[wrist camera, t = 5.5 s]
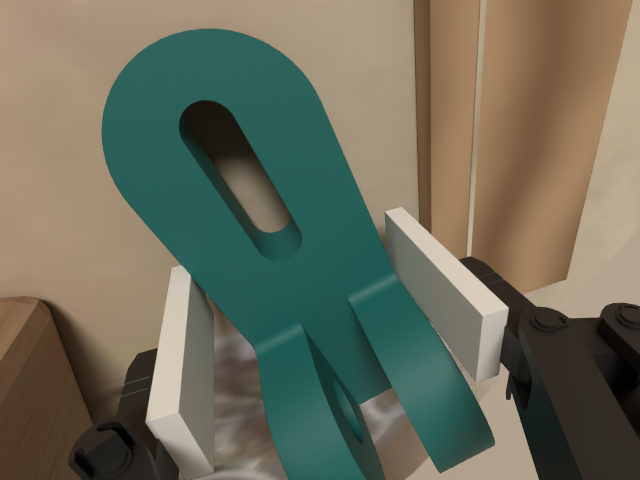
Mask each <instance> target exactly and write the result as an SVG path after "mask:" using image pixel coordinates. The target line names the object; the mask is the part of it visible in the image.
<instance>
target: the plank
mask: <svg viewBox="0 0 640 480" xmlns="http://www.w3.org/2000/svg"><path fill="white" fill-rule="evenodd" d="M632 1H633V0H414V22H415V61H416V100H417V139H418V178H419V217H420V225H421V226H422V227H423V228H425V229H426V230H427V231H428V232H429V233H430V234H431V235H432V236H433V237H434V238H435V239H436V240H437V241H438V242H439V243H440V244H442V245H443V246H444V247H445V248H446V249H447V250H448V251H449V252H450V253H451V254H452V255H453V256H454V257H455V258H456V259H457V260H459V259H462V258H466V257H469V256H471V257H474V258H476V259H478V260H480V261H483V262H485V263H486V264H487V265H488V266H489V267H491V268H492V269H493V270H494V271H495V273H498V274H499V275H500V276H501V277H502V278H503V280H506V281H507V282H508V283H509V284H510V285H512V286H513V287H514V288H515V289H516V290H517V291H519V292H520V293H521V294H522V293H525V292H528V291H531V290H534V289H538V288H541V287H544V286H547V285H550V284H553V283H556V282H560V281H563V280H566V278H567V274H568V270H569V266H570V262H571V257H572V253H573V249H574V245H575V241H576V236H577V232H578V228H579V224H580V220H581V215H582V211H583V207H584V203H585V199H586V194H587V190H588V186H589V182H590V178H591V173H592V169H593V165H594V161H595V157H596V152H597V148H598V144H599V140H600V136H601V131H602V127H603V123H604V119H605V115H606V110H607V106H608V102H609V98H610V94H611V89H612V85H613V81H614V77H615V73H616V68H617V64H618V60H619V56H620V52H621V47H622V43H623V39H624V35H625V31H626V26H627V22H628V18H629V14H630V10H631V5H632Z"/></svg>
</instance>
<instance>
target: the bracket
mask: <svg viewBox="0 0 640 480" xmlns="http://www.w3.org/2000/svg"><path fill="white" fill-rule="evenodd" d="M201 100H210V101H215V102H218V103H220V104H222V105H223V106H225V107H226V108H227V109H228V110H229V111H230V112H231V113H232V114H233V116H234V118H235V119H236V121H237V123H238V125H239V126H240V128H241V130H242V131H243V133H244V135H245V137H246V138H247V140H248V142H249V143H250V145H251V147H252V149H253V150H254V152H255V154H256V155H257V157H258V159H259V161H260V162H261V164H262V166H263V168H264V169H265V171H266V173H267V174H268V176H269V178H270V180H271V181H272V183H273V185H274V186H275V188H276V190H277V192H278V193H279V195H280V197H281V198H282V200H283V202H284V204H285V205H286V207H287V209H288V211H289V212H290V214H291V219H290V222H289V223H288V225H287V226H286V227H285V228H284V229H282V230H280V231H278V232H274V233H266V232H263V231H260V230H259V229H257V228H256V227H255V226H254V224H253V223H252V221H251V220H250V218H249V217H248V215H247V214H246V212H245V211H244V209H243V208H242V206H241V205H240V203H239V202H238V200H237V199H236V197H235V196H234V194H233V193H232V191H231V190H230V188H229V187H228V185H227V184H226V182H225V181H224V179H223V178H222V176H221V175H220V173H219V172H218V170H217V169H216V167H215V166H214V164H213V163H212V161H211V160H210V158H209V157H208V155H207V154H206V152H205V151H204V149H203V148H202V146H201V145H200V143H199V142H198V140H197V139H196V137H195V135H194V134H193V132H192V131H191V129H190V128H189V126H188V125H187V123H186V120H185V117H184V110H185V109H186V108H187V107H188V106H189V105H191V104H192V103H194V102H197V101H201ZM102 144H103V151H104V155H105V160H106V163H107V166H108V169H109V172H110V175H111V177H112V179H113V181H114V183H115V185H116V187H117V188H118V190H119V191H120V193H121V195H122V196H123V197H124V199H125V200H126V201H127V203H128V204H129V205H130V206H131V207H132V209H133V210H134V211H135V212H136V213H137V214H138V215H139V217H140V218H141V219H142V220H143V221H144V222H145V224H146V225H147V226H148V227H149V228H150V229H151V230H152V232H153V233H154V234H155V235H156V236H157V237H158V238H159V240H160V241H161V242H162V243H163V244H164V245H165V246H166V248H167V249H168V250H169V251H170V252H171V253H172V255H173V256H174V257H175V258H176V259H177V260H178V261H179V263H180V264H181V265H182V266H183V267H184V268H185V269H186V271H187V272H188V273H189V274H190V275H191V276H192V277H193V279H194V280H195V281H196V282H197V283H198V284H199V286H200V287H201V288H202V289H203V290H204V291H205V292H206V294H207V295H208V296H209V297H210V298H211V299H212V300H213V302H214V303H215V304H216V305H217V306H218V307H219V309H220V310H221V311H222V312H223V313H224V314H225V315H226V317H227V318H228V319H229V320H230V321H231V322H232V323H233V325H234V326H235V327H236V328H237V329H238V330H239V331H240V333H241V334H242V335H243V336H244V337H245V338H246V340H247V341H248V342H249V343H250V344H251V345H252V347H253V348H254V350H255V352H256V355H257V358H258V366H259V374H260V381H261V389H262V396H263V403H264V408H265V413H266V417H267V421H268V425H269V428H270V431H271V435H272V438H273V441H274V444H275V447H276V449H277V452H278V455H279V457H280V460H281V462H282V465H283V467H284V469H285V472H286V474H287V476H288V478H289V480H385V477H384V473H383V470H382V466H381V463H380V460H379V458H378V455H377V452H376V449H375V447H374V444H373V441H372V439H371V436H370V433H369V431H368V428H367V426H366V423H365V420H364V418H363V415H362V413H361V410H360V407H359V404H361V403H363V402H365V401H367V400H369V399H371V398H373V397H375V396H377V395H378V394H380V393H382V392H384V391H386V390H388V389H390V388H392V387H393V389H394V391H395V393H396V395H397V396H398V398H399V400H400V402H401V404H402V406H403V408H404V410H405V412H406V414H407V415H408V417H409V419H410V421H411V423H412V425H413V427H414V429H415V430H416V432H417V434H418V436H419V438H420V440H421V441H422V443H423V445H424V447H425V449H426V451H427V452H428V454H429V456H430V458H431V459H432V461H433V463H434V465H435V466H436V468H437V470H438V471H439V473H442V472H444V471H446V470H448V469H450V468H452V467H454V466H456V465H458V464H459V463H461V462H463V461H465V460H467V459H469V458H471V457H473V456H475V455H477V454H479V453H481V452H482V451H485V450H486V449H488V448H490V447H492V446H494V445H495V440H494V437H493V434H492V431H491V429H490V427H489V425H488V422H487V420H486V418H485V416H484V414H483V412H482V410H481V408H480V406H479V404H478V402H477V400H476V398H475V396H474V394H473V392H472V391H471V389H470V387H469V385H468V383H467V382H466V380H465V378H464V376H463V375H462V373H461V371H460V370H459V368H458V366H457V364H456V363H455V361H454V359H453V358H452V356H451V354H450V353H449V351H448V350H447V348H446V346H445V345H444V343H443V342H442V340H441V339H440V337H439V335H438V334H437V332H436V331H435V329H434V328H433V326H432V325H431V323H430V322H429V321H428V319H427V318H426V316H425V315H424V313H423V312H422V311H421V309H420V308H419V307H418V305H417V304H416V302H415V301H414V300H413V298H412V297H411V296H410V294H409V293H408V292H407V290H406V289H405V287H404V286H403V285H402V283H401V282H400V280H399V279H398V277H397V275H396V274H395V272H394V270H393V267H392V265H391V263H390V260H389V258H388V256H387V253H386V251H385V249H384V246H383V244H382V242H381V239H380V237H379V235H378V232H377V230H376V228H375V226H374V223H373V221H372V219H371V216H370V214H369V212H368V209H367V207H366V205H365V202H364V200H363V198H362V195H361V193H360V191H359V189H358V186H357V184H356V182H355V179H354V177H353V175H352V172H351V170H350V168H349V165H348V163H347V161H346V158H345V156H344V154H343V151H342V149H341V147H340V145H339V142H338V140H337V138H336V135H335V133H334V131H333V128H332V126H331V124H330V121H329V119H328V117H327V114H326V112H325V110H324V108H323V105H322V103H321V101H320V99H319V97H318V95H317V93H316V91H315V89H314V88H313V86H312V84H311V83H310V81H309V80H308V79H307V77H306V76H305V75H304V74H303V72H302V71H301V70H300V69H299V68H298V67H297V66H296V65H295V64H294V63H293V62H292V61H291V60H290V59H289V58H287V57H286V56H285V55H284V54H282V53H281V52H280V51H278V50H277V49H275V48H274V47H272V46H270V45H269V44H267V43H265V42H263V41H261V40H259V39H256V38H254V37H251V36H248V35H245V34H242V33H238V32H234V31H230V30H222V29H197V30H189V31H184V32H180V33H176V34H173V35H170V36H168V37H165V38H163V39H160V40H158V41H157V42H155V43H153V44H151V45H149V46H148V47H146V48H145V49H144V50H142V51H141V52H140V53H138V54H137V55H136V56H135V57H134V58H133V59H132V60H131V61H130V62H129V63H128V64H127V65H126V66H125V68H124V69H123V70H122V71H121V73H120V74H119V75H118V77H117V79H116V81H115V82H114V84H113V86H112V88H111V90H110V93H109V95H108V98H107V101H106V104H105V108H104V112H103V120H102Z"/></svg>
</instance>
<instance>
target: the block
mask: <svg viewBox="0 0 640 480" xmlns="http://www.w3.org/2000/svg"><path fill="white" fill-rule="evenodd" d="M92 426H93V423H92V420H91V417H90V415H89V412H88V410H87V407H86V404H85V402H84V399H83V396H82V394H81V391H80V389H79V386H78V383H77V381H76V378H75V376H74V373H73V370H72V368H71V365H70V363H69V360H68V357H67V355H66V352H65V349H64V347H63V344H62V342H61V339H60V336H59V334H58V331H57V329H56V326H55V323H54V321H53V318H52V316H51V313H50V310H49V308H48V307H47V306H46V305H45V304H44V303H43V302H42V301H41V300H40V299H35V298H30V297H24V296H22V297H11V298H0V480H81V478H80V477H79V476H78V475H77V474H76V473H75V472H74V471H73V470H72V469H71V468H70V467H69V466H68V460H69V454H70V452H71V450H72V448H73V446H74V444H75V442H76V441H77V440H78V439H79V438H80V437H81V435H82V434H83V433H84V432H85V431H86V430H88V429H89V428H90V427H92Z"/></svg>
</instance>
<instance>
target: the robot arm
mask: <svg viewBox="0 0 640 480" xmlns="http://www.w3.org/2000/svg"><path fill="white" fill-rule="evenodd" d="M385 223H386V237H387V251H388V258H389V260H390V263H391V265H392V267H393V270H394V272H395V274H396V275H397V277H398V278H399V280H400V281H401V282H402V284H403V285H404V286H405V288H406V289H407V291H408V292H409V293H410V295H411V296H412V297H413V299H414V300H415V301H416V303H417V304H418V305H419V307H420V308H421V309H422V311H423V312H424V313H425V315H426V316H427V317H428V319H429V320H430V321H431V323H432V324H433V326H434V327H435V328H436V330H437V331H438V332H439V334H440V335H441V336H442V338H443V339H444V340H445V342H446V343H447V344H448V346H449V347H450V348H451V350H452V351H453V352H454V354H455V355H456V356H457V358H458V359H459V361H460V362H461V363H462V365H463V366H464V367H465V369H466V370H467V371H468V373H469V374H470V375H471V377H472V378H473V379H474V381H475V382H479V381H482V380H485V379H488V378H491V377H494V376H497V375H499V369H500V362H501V363H502V364H503V365H504V366H505V367H506V369H507V370H508V371H509V378H508V383H507V389H506V399H507V400H510V398H511V393H512V395H513V398H514V401H515V404H516V407H517V411H518V413H519V417H520V420H521V423H522V427H523V430H524V433H525V436H526V439H527V443H528V446H529V449H530V452H531V455H532V459H533V462H534V465H535V468H536V471H537V474H538V478H539V480H640V306H637V305H633V304H628V303H612V304H609V305H607V306H605V307H604V309H603V310H602V312H601V315H600V317H599V318H573V319H572V318H568V317H567V316H565V315H564V314H562V313H561V312H559V311H556V310H553V309H551V308H546V307H536V306H535V305H534V304H533V303H531V302H530V301H529V300H528V299H527V298H526V297H524V296H523V295H522V294H521V293H520V292H519V291H517V290H516V289H515V288H514V287H513V286H512V285H510V284H509V283H508V282H507V281H506V280H503V278H502V277H501V276H500V275H499V274H498V273H495V271H494V270H493V269H492V268H491V267H489V266H488V265H487V264H486V263H485V262H483V261H480V260H478V259H476V258H474V257H471V256H469V257H466V258H462V259H459V260H457V259H456V258H455V257H454V256H453V255H452V254H451V253H450V252H449V251H448V250H447V249H446V248H445V247H444V246H443V245H442V244H440V243H439V242H438V241H437V240H436V239H435V238H434V237H433V236H432V235H431V234H430V233H429V232H428V231H427V230H426V229H425V228H423V227H422V226H421V225H420V224H419V223H418V222H417V221H416V220H415V219H414V218H413V217H412V216H411V215H410V214H409V213H408V212H407V211H405V210H404V209H403V208H402V207H400V208H396V209H392V210H389V211H385ZM68 466H69V467H70V468H71V469H72V470H73V471H74V472H75V473H76V474H77V475H78V476H79V477H80V478H81V480H178V478H179V472H180V473H181V475H182V476H183V478H184V479H185V480H191V479H194V478H197V477H200V476H203V475H206V474H209V473H212V472H214V314H213V312H212V309H211V307H210V305H209V302H208V300H207V297H206V295H205V292H204V290H203V289H202V288H201V287H200V286H199V284H198V283H197V282H196V281H195V280H194V279H193V277H192V276H191V275H190V274H189V273H188V272H187V271H186V269H185V268H184V267H183V266H182V265H180V266H177V267H173V268H172V271H171V277H170V282H169V288H168V294H167V300H166V306H165V311H164V317H163V323H162V329H161V335H160V340H159V346H158V348H156V349H152V350H149V351H145V352H142V353H138V354H137V356H136V357H135V359H134V360H133V362H132V363H131V365H130V366H129V368H128V371H127V375H126V379H125V386H124V387H123V391H122V398H121V399H120V403H119V407H118V411H117V415H116V417H111V418H106V419H104V420H102V421H100V422H98V423H96V424H94V425H93V426H92V427H90V428H89V429H88V430H86V431H85V432H84V433H83V434H82V435H81V437H80V438H79V439H78V440H77V441H76V442H75V444H74V446H73V448H72V450H71V452H70V454H69V460H68Z"/></svg>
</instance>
